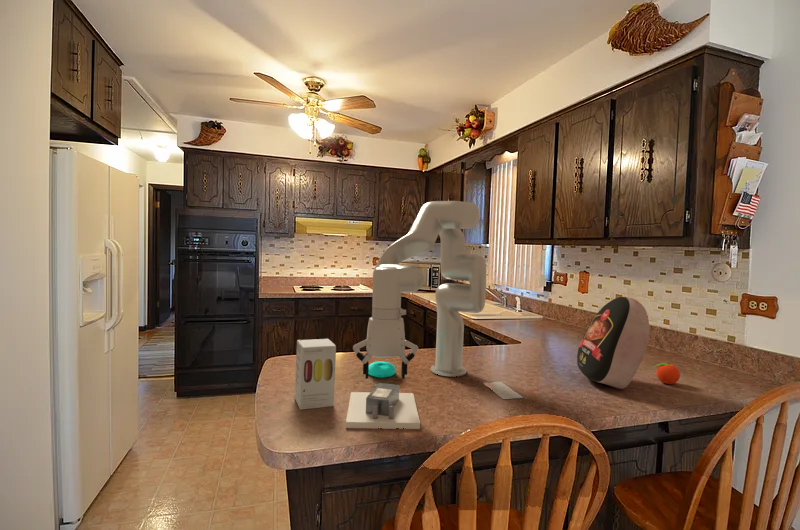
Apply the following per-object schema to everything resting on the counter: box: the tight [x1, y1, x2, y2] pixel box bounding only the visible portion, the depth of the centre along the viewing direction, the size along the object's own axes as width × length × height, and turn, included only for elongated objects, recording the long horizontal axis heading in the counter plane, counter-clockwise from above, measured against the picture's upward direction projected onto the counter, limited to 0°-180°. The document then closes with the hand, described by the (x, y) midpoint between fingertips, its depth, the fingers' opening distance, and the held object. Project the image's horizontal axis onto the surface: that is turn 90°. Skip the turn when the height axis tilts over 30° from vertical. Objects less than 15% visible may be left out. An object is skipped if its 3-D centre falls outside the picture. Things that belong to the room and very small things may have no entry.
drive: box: [366, 382, 400, 416], centre depth 109 cm, size 12×6×4 cm, turn 168°
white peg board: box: [345, 383, 421, 430], centre depth 109 cm, size 20×18×4 cm
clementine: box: [653, 362, 681, 385], centre depth 143 cm, size 8×7×7 cm
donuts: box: [368, 357, 397, 379], centre depth 141 cm, size 10×10×10 cm
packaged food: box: [576, 296, 650, 390], centre depth 140 cm, size 22×20×30 cm
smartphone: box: [490, 381, 525, 401], centre depth 130 cm, size 7×1×15 cm
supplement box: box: [294, 338, 337, 410], centre depth 114 cm, size 10×9×17 cm
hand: (385, 377), depth 109 cm, fingers open, 9 cm apart
